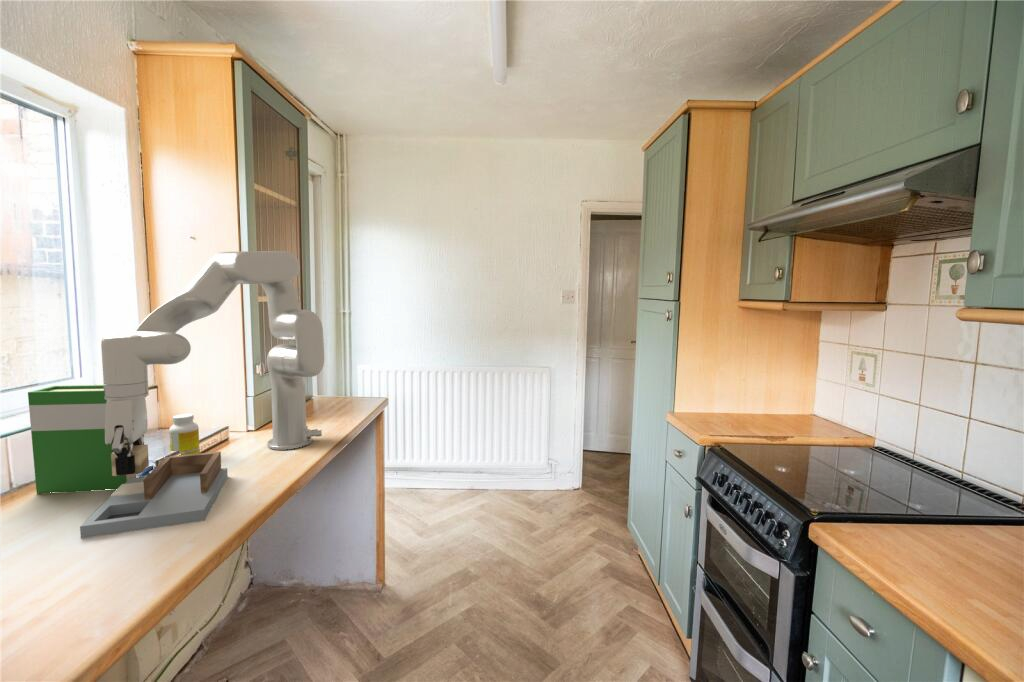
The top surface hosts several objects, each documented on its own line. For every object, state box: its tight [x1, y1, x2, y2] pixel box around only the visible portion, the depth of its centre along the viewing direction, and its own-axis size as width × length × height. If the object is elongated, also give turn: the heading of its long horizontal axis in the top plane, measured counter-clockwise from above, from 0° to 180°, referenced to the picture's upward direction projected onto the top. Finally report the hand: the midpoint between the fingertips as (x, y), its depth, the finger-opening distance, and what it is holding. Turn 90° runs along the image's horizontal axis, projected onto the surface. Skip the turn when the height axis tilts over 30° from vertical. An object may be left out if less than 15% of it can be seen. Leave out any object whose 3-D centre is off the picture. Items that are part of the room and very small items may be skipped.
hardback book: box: [27, 384, 136, 495], centre depth 108 cm, size 18×7×24 cm, turn 101°
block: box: [111, 444, 150, 476], centre depth 101 cm, size 5×5×5 cm
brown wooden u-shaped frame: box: [143, 451, 222, 500], centre depth 105 cm, size 11×15×4 cm
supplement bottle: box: [168, 413, 201, 455], centre depth 125 cm, size 7×7×13 cm
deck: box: [79, 467, 228, 539], centre depth 101 cm, size 20×24×3 cm
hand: (131, 468), depth 101 cm, fingers closed on block, 4 cm apart
